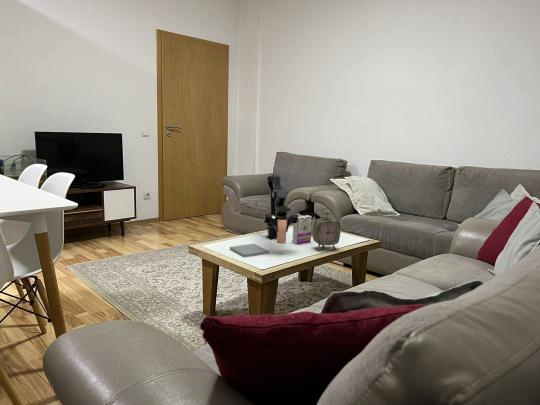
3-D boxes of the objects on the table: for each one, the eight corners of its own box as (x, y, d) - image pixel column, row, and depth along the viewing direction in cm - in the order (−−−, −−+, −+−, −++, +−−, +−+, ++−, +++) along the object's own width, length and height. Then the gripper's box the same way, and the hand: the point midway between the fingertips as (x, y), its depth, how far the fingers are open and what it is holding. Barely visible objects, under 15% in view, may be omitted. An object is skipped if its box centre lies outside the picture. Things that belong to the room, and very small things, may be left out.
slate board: (229, 249, 246) (229, 246, 246) (253, 246, 255) (253, 243, 255) (244, 257, 233) (244, 254, 233) (268, 253, 242) (269, 250, 242)
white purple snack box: (312, 237, 281) (314, 214, 279) (291, 234, 286) (293, 212, 283) (315, 234, 290) (317, 212, 287) (295, 231, 294) (296, 209, 291)
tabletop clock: (316, 251, 250) (318, 209, 245) (310, 247, 258) (312, 206, 254) (339, 250, 254) (342, 208, 249) (332, 246, 262) (335, 205, 258)
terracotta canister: (275, 241, 243) (276, 219, 240) (282, 240, 245) (283, 218, 243) (280, 244, 239) (281, 221, 236) (287, 243, 241) (288, 220, 239)
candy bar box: (305, 240, 273) (307, 214, 270) (310, 242, 269) (312, 216, 266) (291, 242, 266) (293, 216, 263) (297, 244, 262) (298, 218, 259)
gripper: (265, 199, 240) (267, 223, 232) (298, 200, 243) (301, 224, 234) (263, 210, 249) (264, 234, 241) (295, 211, 252) (297, 234, 243)
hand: (282, 231), depth 239 cm, fingers closed on terracotta canister, 5 cm apart
